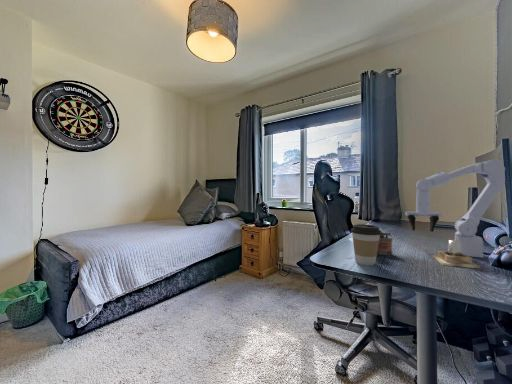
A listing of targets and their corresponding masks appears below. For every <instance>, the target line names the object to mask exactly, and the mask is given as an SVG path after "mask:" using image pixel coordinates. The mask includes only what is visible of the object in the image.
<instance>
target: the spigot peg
mask: <svg viewBox="0 0 512 384" xmlns="http://www.w3.org/2000/svg"><path fill="white" fill-rule="evenodd" d="M447 248H448V249H447V252H448V255H449V256H460V257H461V241H457V240H455V239H448V244H447Z"/></svg>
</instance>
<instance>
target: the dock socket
mask: <svg viewBox="0 0 512 384" xmlns="http://www.w3.org/2000/svg"><path fill="white" fill-rule="evenodd" d="M431 258H432V259H434V260H435V261H437V262H438V263H440V265H441V266H448V267H449V266H450V267H451V266H452V267H459V268H470V269H481V266H480V265H479V264H477V263H475V262H474V261H473V257H471V256H467V255H465V254H463V253H461V257H460V256H449V255H448V250H447V251H445V250H444V251H443V250H438V251H437V255H436V254H435V255H434V254H431Z"/></svg>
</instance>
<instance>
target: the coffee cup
mask: <svg viewBox="0 0 512 384" xmlns="http://www.w3.org/2000/svg"><path fill="white" fill-rule="evenodd" d="M350 232H351V235H352V245H353V251H354V260H355V263H356V264H359V265H362V266H367V267H368V266H371V267H372V266H375V264H376V261H377V256H378V254H377V250H378V244H379V238H380V235H381V232H382V231H381V230H380V227H379V226H377V225H372V224H365V223H364V224H363V223H362V224H360V223H359V224H353V227H352V228H351V230H350Z"/></svg>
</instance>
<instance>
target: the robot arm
mask: <svg viewBox="0 0 512 384" xmlns="http://www.w3.org/2000/svg"><path fill="white" fill-rule="evenodd" d="M505 171H506V167H505V166H504V164H503V162H502V161H500V160H498V159H490V160H485V161H480V162H477V163H473V164H469V165H467V166H464V167H460V168H459V169H455V170H453V171H449V172H443V171H441V172H440V171H439V172H436V173H435V174H433V175H431V176H425V178H421V179H420V180H417V182H416V185H415V187H416V198H415V211H405V214H404V215H405V216H407V219H408V221H409V223H410V226H411V229H412V231H414V232H415V230H416V219H417V218H416V217H429V224H430V225H429V232H432V233H433V232H434V229H435V227H436V224H437V223H438V221H439V220H440V218H442V213H441V212H435V211H434V212H433V211H432V212H431V188H432V189H435V188H438V187H440V186H444V185H446V184H449V183H450V181H451V180H453V179H456V178H458V177H462V176H465V175H469V174H480V176H482V177H483V178H484V180H485V182H486V185H485V186H484V188H483V189H482V191H481V192H480V194H479V195H478V196H477V198H476V199H475V201H474V202H473V203H472V205H471V206H470V208H469V209H468V210H467V212H466V213H465V214H464V215H463V216H462V217H461V218H460V219H459V220H457V221H456V222H455V223H454V229H455V230H456V232H454V240H457V241H461V253H463V254H465V255H467V256H469V257H471V258H473V257H474V258H485V256H484V240H483V238H482V237H481V236H478V235H476V233H478V226H479V224H480V221H481V218H482V217H483V215H484V214H485V213H486V211H487V210H488V209H489V207H490V206H491V204H492V203H493V201H494V200H495V199H496V198H497V196H498V194H499V193H500V192H501V190H502V189H503V188H504V186H505V184H506V175H505Z"/></svg>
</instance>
